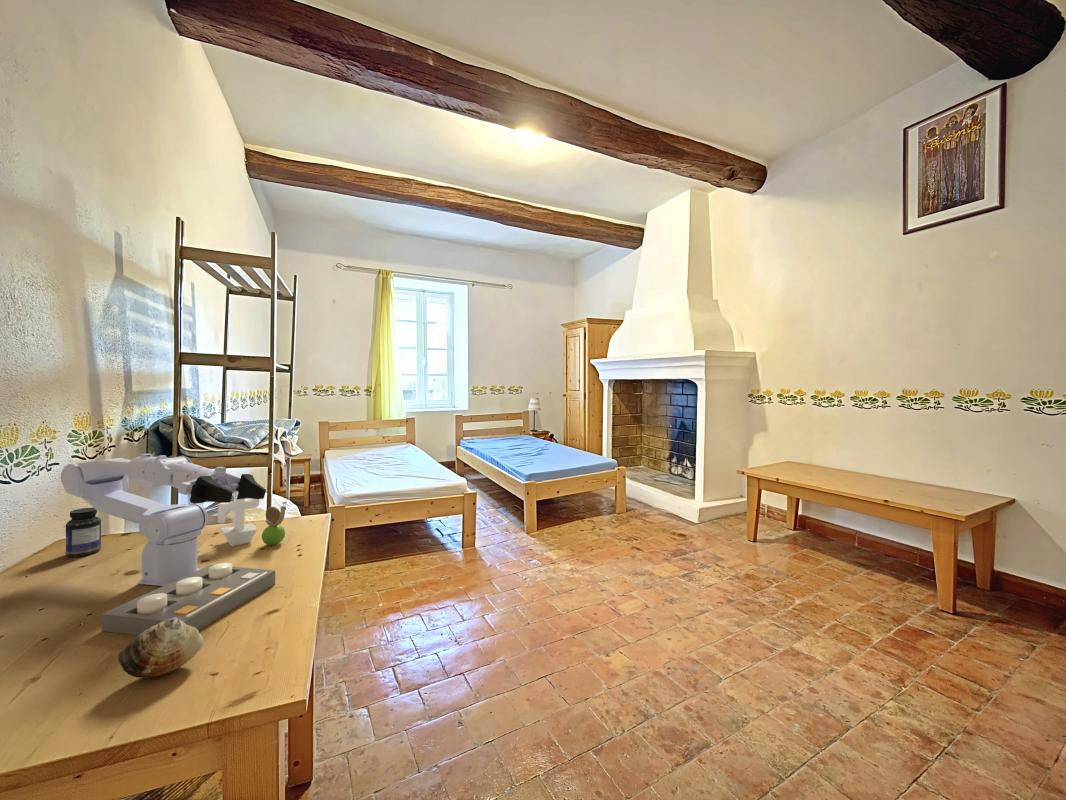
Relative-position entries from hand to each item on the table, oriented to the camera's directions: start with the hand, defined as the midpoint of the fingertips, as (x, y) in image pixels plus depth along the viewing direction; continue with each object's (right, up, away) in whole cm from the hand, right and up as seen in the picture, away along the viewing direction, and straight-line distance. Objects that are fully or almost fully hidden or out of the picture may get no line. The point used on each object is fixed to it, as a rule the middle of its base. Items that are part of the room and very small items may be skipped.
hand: (247, 495), depth 87 cm
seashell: (+4, -21, -25) cm, 33 cm away
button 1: (-9, -19, -12) cm, 24 cm away
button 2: (-7, -19, +2) cm, 20 cm away
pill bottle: (-55, -19, +19) cm, 61 cm away
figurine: (-22, -20, +29) cm, 41 cm away
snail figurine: (-11, -20, +27) cm, 35 cm away
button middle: (-8, -19, -5) cm, 21 cm away
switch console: (-6, -20, -5) cm, 22 cm away
